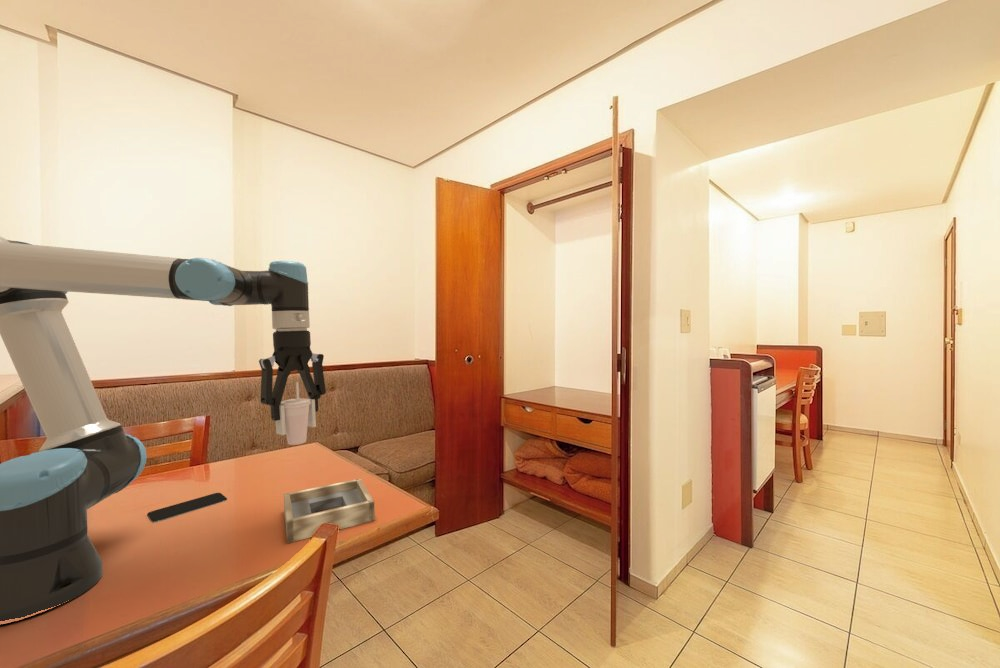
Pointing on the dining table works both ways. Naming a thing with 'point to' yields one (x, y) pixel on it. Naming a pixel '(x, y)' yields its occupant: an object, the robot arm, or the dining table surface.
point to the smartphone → (185, 507)
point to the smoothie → (296, 418)
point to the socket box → (326, 497)
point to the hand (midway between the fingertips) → (296, 429)
